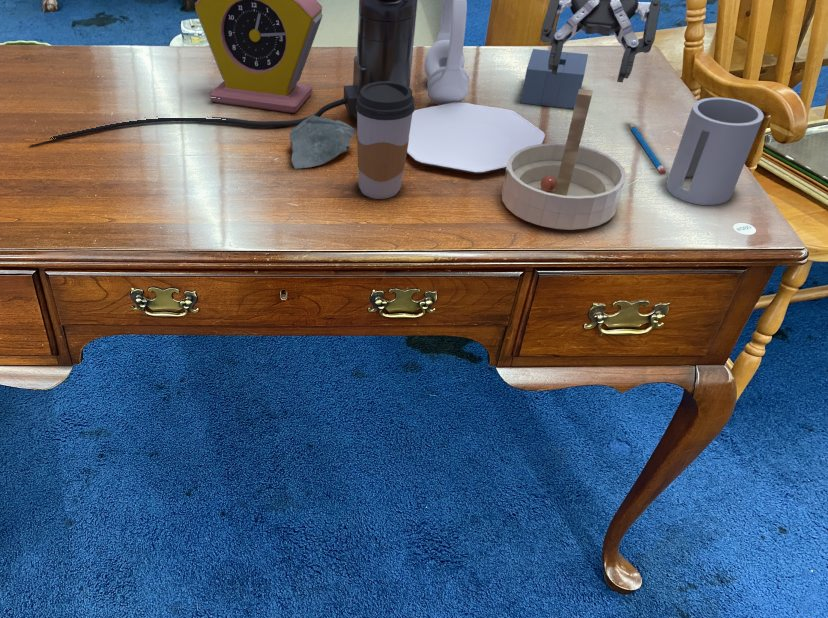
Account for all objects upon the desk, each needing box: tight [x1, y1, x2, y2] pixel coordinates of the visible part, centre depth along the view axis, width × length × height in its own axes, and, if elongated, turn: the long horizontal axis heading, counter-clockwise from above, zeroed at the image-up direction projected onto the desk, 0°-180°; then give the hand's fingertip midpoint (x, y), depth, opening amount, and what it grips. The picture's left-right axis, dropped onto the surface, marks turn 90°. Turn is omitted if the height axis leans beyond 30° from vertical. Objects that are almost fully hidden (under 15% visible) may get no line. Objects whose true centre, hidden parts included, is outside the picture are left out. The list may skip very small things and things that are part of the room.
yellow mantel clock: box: [194, 0, 324, 114], centre depth 140 cm, size 22×9×22 cm, turn 69°
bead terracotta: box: [540, 176, 557, 192], centre depth 119 cm, size 2×2×2 cm
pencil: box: [629, 123, 667, 175], centre depth 130 cm, size 1×17×1 cm, turn 179°
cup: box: [665, 96, 765, 206], centre depth 116 cm, size 9×9×12 cm
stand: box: [520, 48, 589, 110], centre depth 143 cm, size 10×10×6 cm
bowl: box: [501, 142, 627, 231], centre depth 116 cm, size 16×16×6 cm
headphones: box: [423, 0, 470, 106], centre depth 139 cm, size 7×18×20 cm, turn 176°
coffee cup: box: [356, 81, 416, 200], centre depth 117 cm, size 8×8×15 cm
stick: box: [554, 88, 594, 196], centre depth 112 cm, size 2×2×16 cm
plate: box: [407, 101, 546, 175], centre depth 132 cm, size 24×24×2 cm
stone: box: [288, 114, 356, 170], centre depth 130 cm, size 11×4×10 cm
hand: (587, 76), depth 107 cm, fingers open, 8 cm apart
